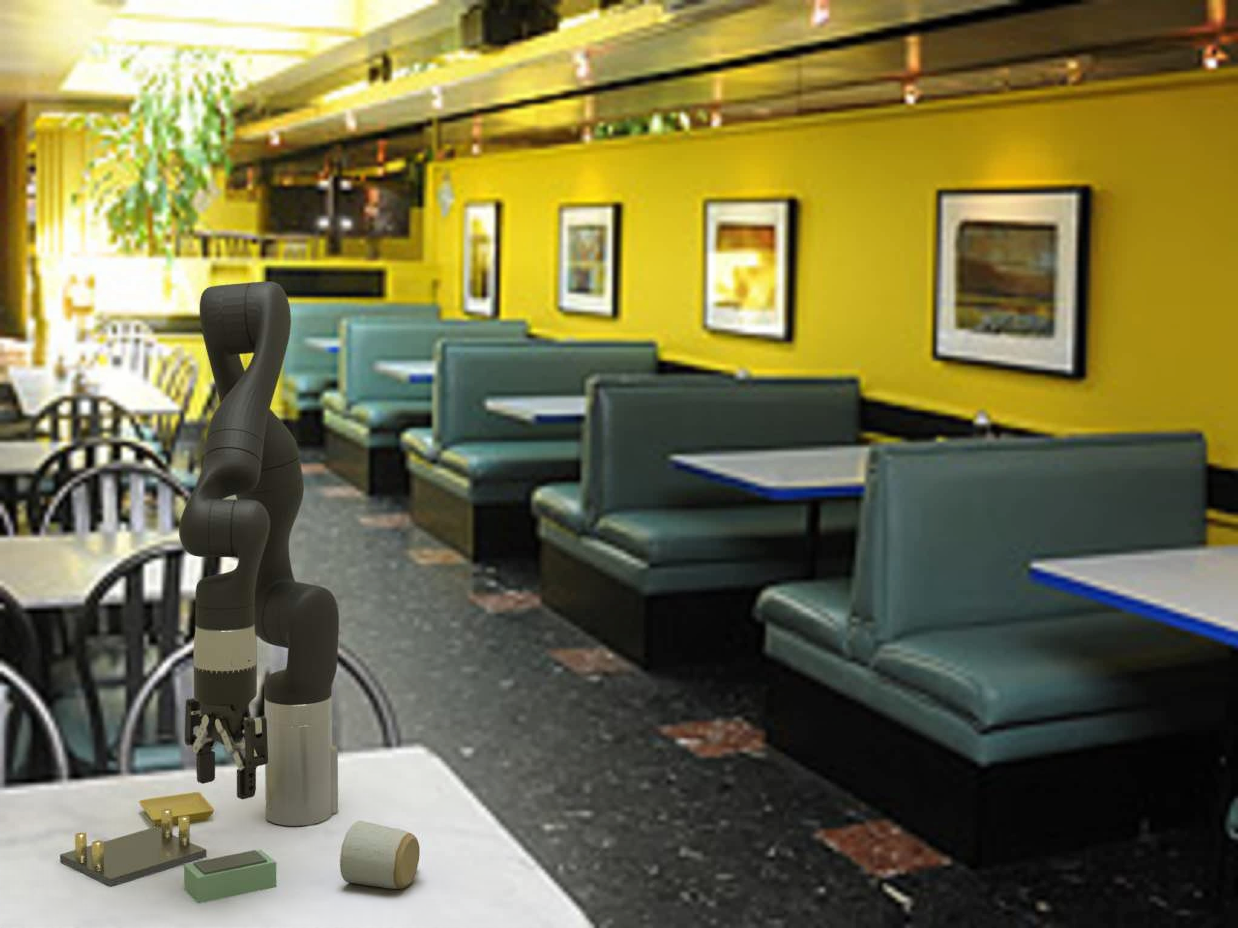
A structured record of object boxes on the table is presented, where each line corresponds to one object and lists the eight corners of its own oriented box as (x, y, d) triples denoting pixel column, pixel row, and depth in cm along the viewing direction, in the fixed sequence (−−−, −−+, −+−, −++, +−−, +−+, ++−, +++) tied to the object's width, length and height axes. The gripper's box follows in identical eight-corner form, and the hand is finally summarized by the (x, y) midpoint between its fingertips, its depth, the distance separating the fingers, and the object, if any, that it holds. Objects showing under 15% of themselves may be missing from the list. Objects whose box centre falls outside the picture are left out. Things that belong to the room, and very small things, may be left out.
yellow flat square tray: (215, 823, 224) (215, 809, 224) (152, 833, 220) (152, 818, 220) (199, 805, 232) (199, 791, 231) (138, 814, 227) (138, 799, 227)
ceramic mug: (398, 899, 198) (399, 838, 197) (338, 890, 200) (338, 830, 199) (432, 870, 208) (433, 812, 207) (374, 862, 210) (374, 805, 209)
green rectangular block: (261, 875, 205) (261, 847, 205) (276, 888, 201) (276, 859, 201) (184, 891, 200) (184, 862, 199) (198, 905, 196) (197, 875, 195)
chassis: (155, 833, 219) (154, 801, 218) (206, 856, 211) (206, 823, 210) (60, 861, 208) (59, 827, 208) (110, 886, 200) (109, 851, 200)
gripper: (285, 666, 195) (285, 796, 197) (218, 646, 204) (218, 770, 206) (233, 676, 189) (233, 810, 191) (166, 655, 199) (166, 782, 201)
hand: (225, 789), depth 199 cm, fingers open, 8 cm apart
